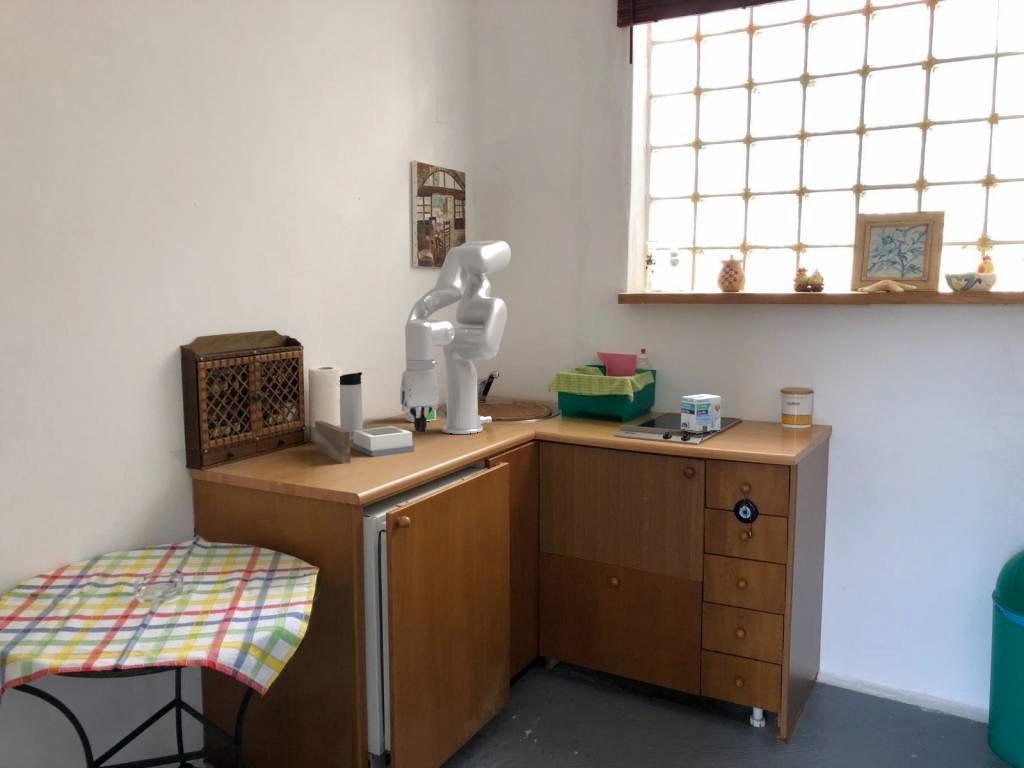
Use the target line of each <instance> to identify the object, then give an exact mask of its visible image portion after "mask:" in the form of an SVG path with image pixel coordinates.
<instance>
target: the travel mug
mask: <svg viewBox="0 0 1024 768" xmlns="http://www.w3.org/2000/svg"><path fill="white" fill-rule="evenodd" d="M362 375H363V372H362V371H361V372H355V373H353V372H351V373H346V374H342V375H339V376H340V381H339V382H340V386H339V387H340V399H339V418H340V419H339V421H340V422H339V425H340V427H339V428H341V429H344V430H346V431H349V434H350V444H352V442H353V430H362V429H364V428H363V427H364V422H363V421H364V420H363V398H362V397H363V396H362V393H363V391H362V381H361V380H362Z"/></svg>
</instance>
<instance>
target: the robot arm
mask: <svg viewBox="0 0 1024 768" xmlns="http://www.w3.org/2000/svg"><path fill="white" fill-rule="evenodd" d="M511 257H512V252H511V247H510V246H509V244H508V243H507V242H506V241H504V240H474V241H467V242H464V243H462V244H460V245H459V246H454V247H452V248H450V249H449V251H448V252H447V254H446V255H445V259H444V261H443V264H442V266H441V270H440V272H439V275H438V278H437V281H436V283H435V284H434V285H435V286H433V287H432V288H431V289H430V290H428V291H427V292H426V293H425V294H424V295H422V297H420V298H419V300H418V301H416V302H415V304H414V305H413V307H412V308H411V311H410V312H409V315H408V318H407V321H406V324H405V328H404V335H405V336H404V337H405V370H403V371H402V375H401V383H400V393H399V401H400V405H401V411H402V412H410V413H411V414H412V416H413V417H414V423H413V425H414V426H413V427H414V429H415V432H418V433H422V432H423V433H425V432H426V431H427V430H426V429H427V422H426V417H428V414H429V413H430V412H431V411H432V410H435V409H436V410H438V409H439V397H440V395H439V385H438V377H437V373H436V370H434V368H435V366H436V367H437V365H438V361H437V360H434V347H442V353H443V356H444V364H445V388H446V389H445V391H446V393H445V394H446V395H445V396H446V398H445V399H446V402H445V403H446V406H445V407H446V425H443V426H442V427H441V431H442V433H445V434H450V433H452V435H469V434H470V433H471V434H478V433H480V432H483V430H484V426H483V424H485V423H486V424H487V423H492V419H493V418H492V417H491V416H489V415H487V416H481V415H480V414H478V413H479V412H478V411H479V410H478V407H479V406H478V405H479V404H478V403H479V401H478V372H477V369H476V366H475V365H474V363H473V362H472V360H473V361H474V360H475V361H476V360H477V361H481V360H482V361H489V360H492V359H495V357H496V355H497V354H498V352H499V350H500V347H501V343H502V339H503V334H504V331H505V328H506V325H507V320H508V308H507V304H506V302H505V301H504V300H503V299H502V298H500V297H495V296H490V295H491V290H492V287H491V285H492V284H491V282H490V281H489V279H488V277H487V276H486V275H489V274H493V273H495V272H498V271H500V270H504V269H505V268H506V267H508V266H509V264H510V261H511V259H512V258H511ZM457 302H458V305H457V308H456V313H455V321H456V323H457V324H458V325H459V326H460V327H454V325H453V324H452V323H451V322H450V321H447V320H446V319H445V320H444V319H429V318H430V317H431V316H432V315H433V314H434V313H436V312H437V311H439V310H441V309H443V308H446V307H448V306H451V305H453V304H455V303H457ZM409 407H411V408H409ZM419 407H421V410H420V409H419ZM477 432H478V433H477Z"/></svg>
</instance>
